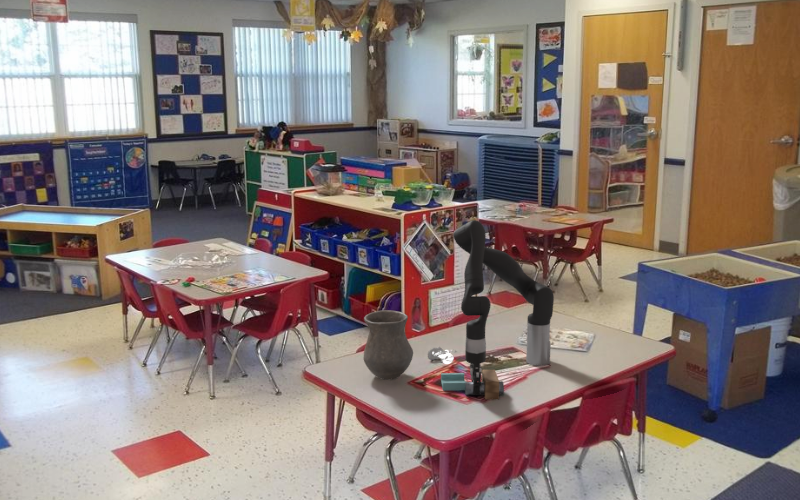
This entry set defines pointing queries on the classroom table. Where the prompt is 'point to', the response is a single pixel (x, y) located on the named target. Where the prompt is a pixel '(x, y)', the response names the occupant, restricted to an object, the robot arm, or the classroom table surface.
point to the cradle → (452, 381)
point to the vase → (387, 344)
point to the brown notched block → (490, 384)
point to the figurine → (441, 355)
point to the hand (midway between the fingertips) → (475, 391)
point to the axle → (481, 388)
